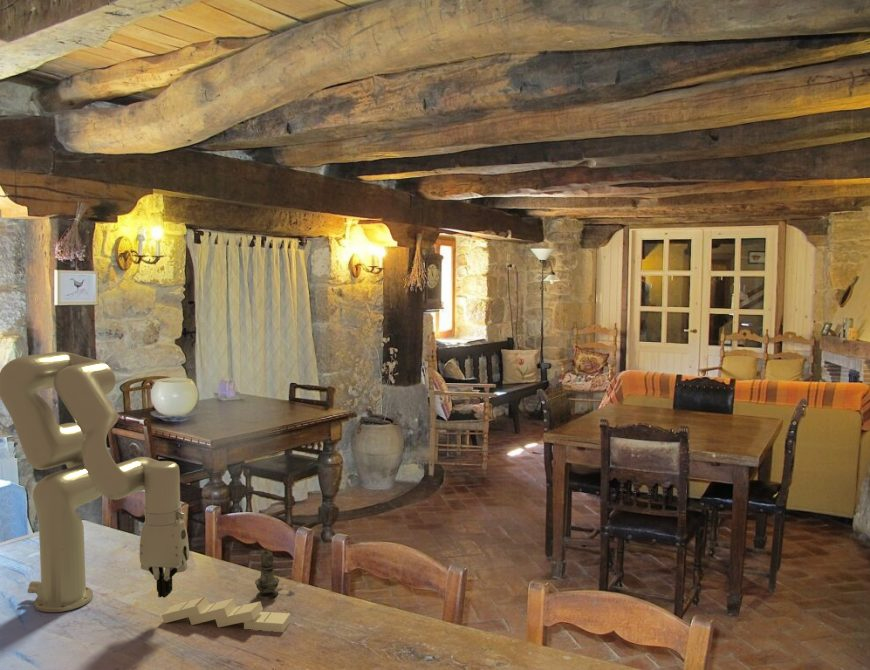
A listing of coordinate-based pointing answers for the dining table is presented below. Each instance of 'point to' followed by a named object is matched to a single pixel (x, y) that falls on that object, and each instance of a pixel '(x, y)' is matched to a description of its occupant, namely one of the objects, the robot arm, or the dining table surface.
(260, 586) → the dark chess piece
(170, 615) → the domino
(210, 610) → the domino
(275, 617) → the domino
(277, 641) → the dining table surface
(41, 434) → the robot arm
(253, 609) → the domino
